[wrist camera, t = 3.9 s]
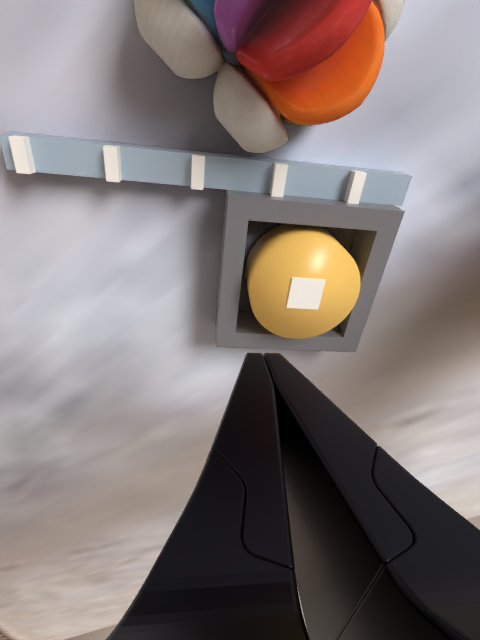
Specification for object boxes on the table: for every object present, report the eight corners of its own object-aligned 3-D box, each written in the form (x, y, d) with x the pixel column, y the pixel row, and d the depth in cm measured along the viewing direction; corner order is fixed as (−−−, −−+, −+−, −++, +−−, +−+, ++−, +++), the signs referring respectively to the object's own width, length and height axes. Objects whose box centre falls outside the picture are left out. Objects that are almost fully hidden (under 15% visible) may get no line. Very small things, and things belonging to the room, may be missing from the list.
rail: (401, 172, 19) (417, 178, 17) (392, 200, 20) (407, 208, 18) (11, 131, 16) (-9, 134, 15) (18, 165, 17) (0, 171, 16)
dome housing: (383, 199, 20) (404, 211, 17) (342, 330, 24) (355, 352, 22) (226, 184, 18) (228, 195, 16) (215, 324, 23) (216, 346, 21)
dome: (354, 226, 20) (376, 244, 17) (329, 314, 23) (344, 341, 20) (251, 217, 19) (257, 235, 16) (240, 310, 22) (244, 337, 20)
